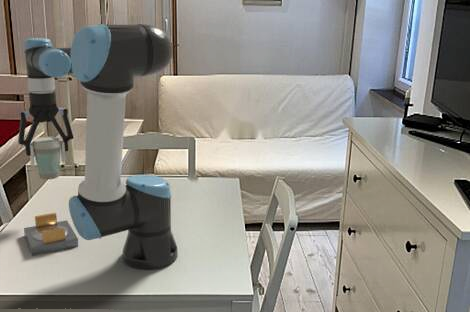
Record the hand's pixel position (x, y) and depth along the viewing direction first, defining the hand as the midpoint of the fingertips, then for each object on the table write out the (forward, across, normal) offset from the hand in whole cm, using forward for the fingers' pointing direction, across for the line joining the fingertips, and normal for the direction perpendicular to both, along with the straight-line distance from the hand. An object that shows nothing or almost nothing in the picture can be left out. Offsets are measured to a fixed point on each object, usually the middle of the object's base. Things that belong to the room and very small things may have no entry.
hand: (48, 163), depth 161 cm
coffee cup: (+5, 0, 0) cm, 5 cm away
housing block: (+19, +4, +15) cm, 25 cm away
